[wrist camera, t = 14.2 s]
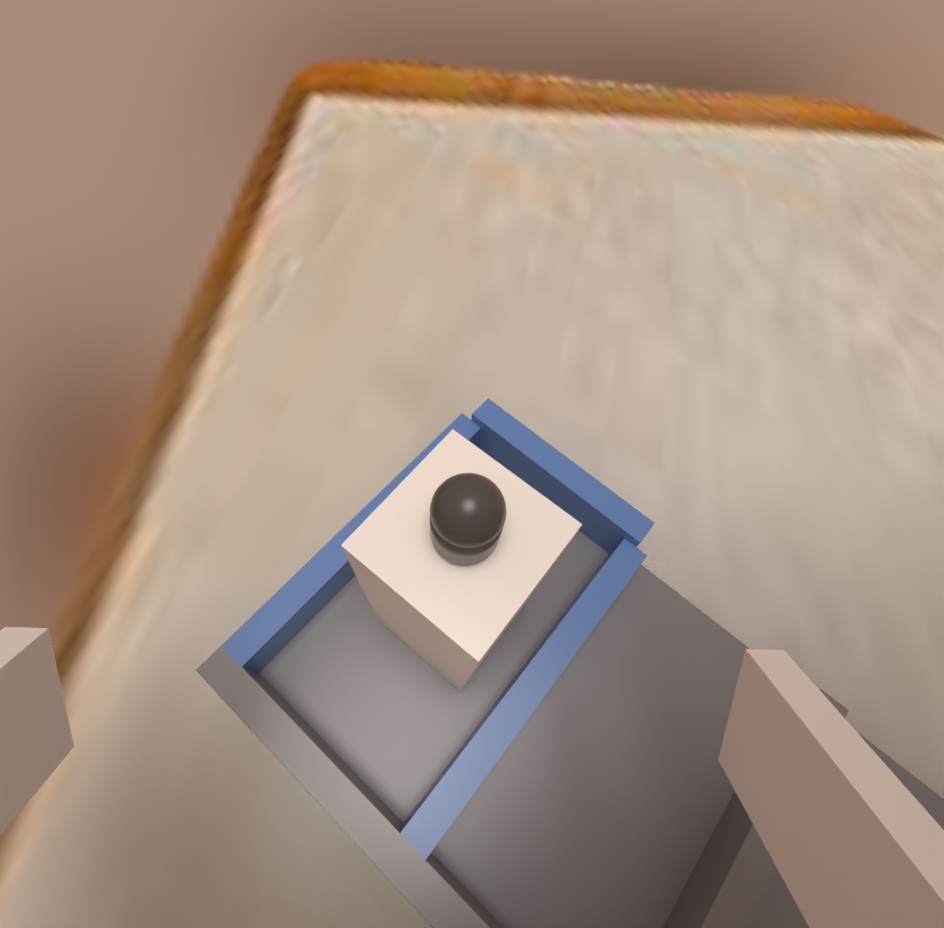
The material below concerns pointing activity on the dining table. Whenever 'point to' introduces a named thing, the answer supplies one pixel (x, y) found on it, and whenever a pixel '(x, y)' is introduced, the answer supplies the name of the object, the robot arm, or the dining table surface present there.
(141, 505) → the dining table surface
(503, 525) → the cream block with knob
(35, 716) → the robot arm
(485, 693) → the gray divided tray
